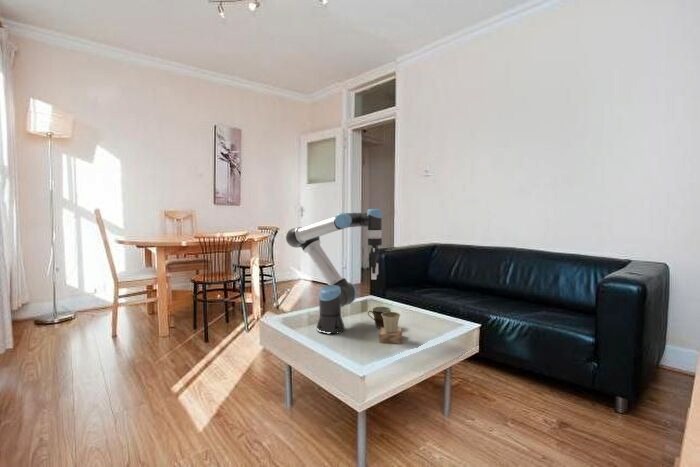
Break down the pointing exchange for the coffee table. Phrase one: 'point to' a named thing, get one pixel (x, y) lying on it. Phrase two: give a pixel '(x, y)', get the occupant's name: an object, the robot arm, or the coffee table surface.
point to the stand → (390, 336)
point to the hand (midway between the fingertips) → (374, 277)
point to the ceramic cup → (379, 315)
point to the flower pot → (390, 321)
